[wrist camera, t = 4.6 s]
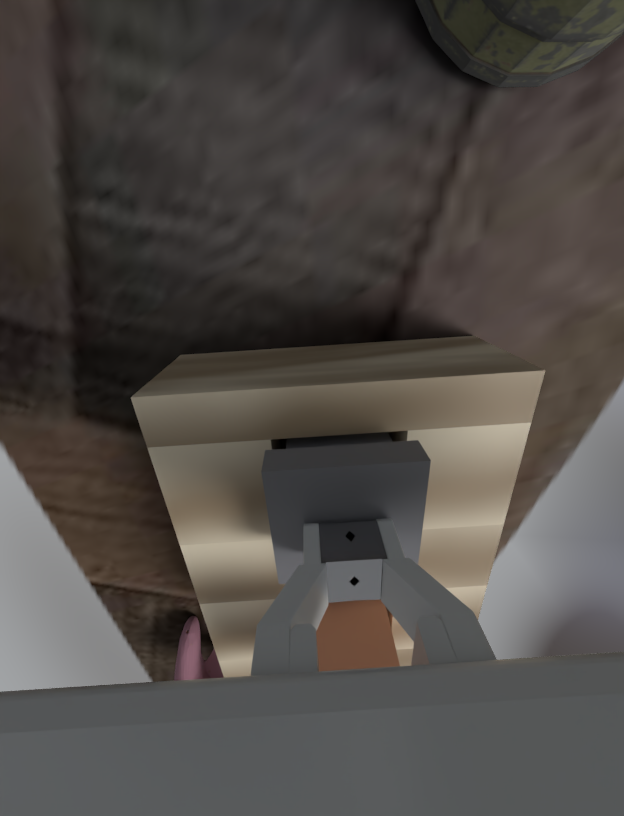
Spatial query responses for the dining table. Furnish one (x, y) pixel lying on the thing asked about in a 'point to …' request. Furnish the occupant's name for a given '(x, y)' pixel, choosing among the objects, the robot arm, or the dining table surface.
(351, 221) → the dining table surface
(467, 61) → the thermos
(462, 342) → the socket block
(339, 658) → the terracotta plug
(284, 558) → the charcoal plug
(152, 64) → the dining table surface
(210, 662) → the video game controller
